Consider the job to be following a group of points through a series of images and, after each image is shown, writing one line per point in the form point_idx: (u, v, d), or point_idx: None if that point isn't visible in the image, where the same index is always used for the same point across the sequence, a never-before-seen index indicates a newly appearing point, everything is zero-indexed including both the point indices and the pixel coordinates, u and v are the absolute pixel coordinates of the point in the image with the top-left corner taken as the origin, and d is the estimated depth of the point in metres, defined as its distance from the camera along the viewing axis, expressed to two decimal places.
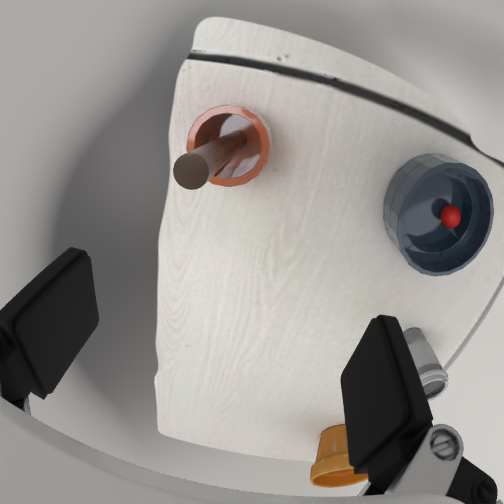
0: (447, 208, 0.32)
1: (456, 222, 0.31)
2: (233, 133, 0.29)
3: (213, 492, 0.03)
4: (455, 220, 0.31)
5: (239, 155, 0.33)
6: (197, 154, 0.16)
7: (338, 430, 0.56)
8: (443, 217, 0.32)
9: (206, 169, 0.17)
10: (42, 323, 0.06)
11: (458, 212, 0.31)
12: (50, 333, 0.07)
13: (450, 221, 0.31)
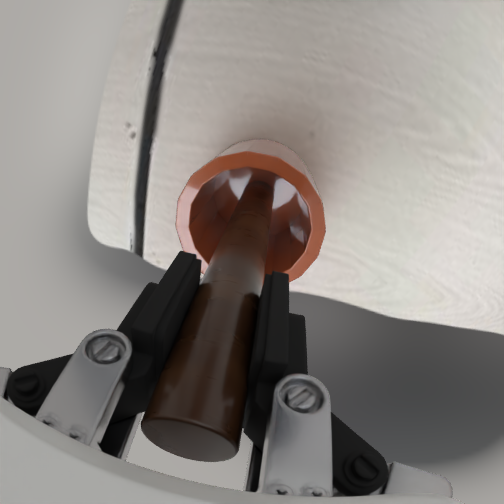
0: None
1: None
2: None
3: (213, 492, 0.03)
4: None
5: (284, 192, 0.21)
6: (142, 419, 0.05)
7: None
8: None
9: (172, 421, 0.05)
10: (174, 329, 0.07)
11: None
12: None
13: None
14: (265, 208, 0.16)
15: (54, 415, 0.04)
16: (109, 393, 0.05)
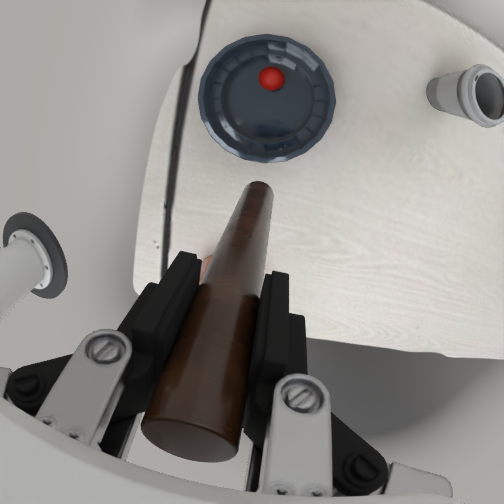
0: (262, 86, 0.30)
1: (273, 75, 0.28)
2: None
3: (213, 492, 0.03)
4: (270, 77, 0.29)
5: None
6: (142, 420, 0.05)
7: None
8: (272, 89, 0.30)
9: (172, 422, 0.05)
10: (174, 329, 0.07)
11: (262, 73, 0.29)
12: (175, 338, 0.08)
13: (273, 82, 0.29)
14: (265, 209, 0.16)
15: (54, 415, 0.04)
16: (109, 393, 0.05)
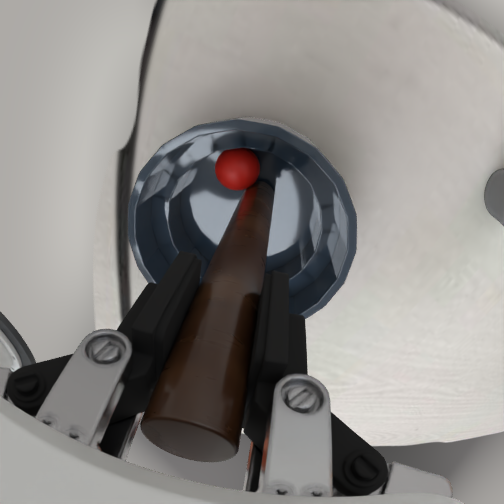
0: None
1: (228, 152, 0.18)
2: None
3: (213, 492, 0.03)
4: (223, 156, 0.18)
5: None
6: (142, 419, 0.05)
7: None
8: (227, 182, 0.19)
9: (172, 421, 0.05)
10: (174, 329, 0.07)
11: None
12: None
13: (226, 165, 0.18)
14: (265, 208, 0.16)
15: (54, 415, 0.04)
16: (109, 393, 0.05)
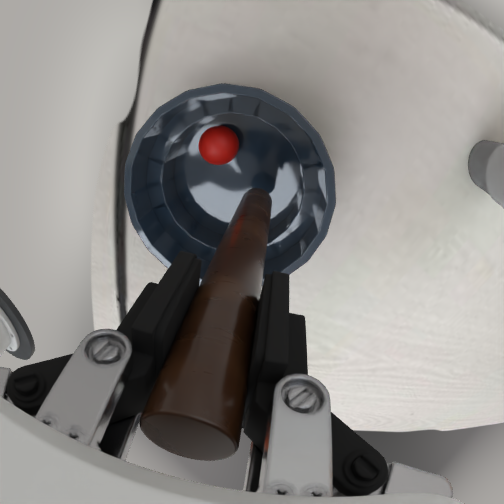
0: (199, 147, 0.21)
1: (222, 136, 0.20)
2: None
3: (213, 492, 0.03)
4: (217, 138, 0.20)
5: None
6: (141, 417, 0.05)
7: None
8: (208, 158, 0.21)
9: (169, 415, 0.05)
10: (174, 329, 0.07)
11: (210, 128, 0.20)
12: None
13: (216, 147, 0.20)
14: (263, 213, 0.17)
15: (54, 415, 0.04)
16: (109, 393, 0.05)
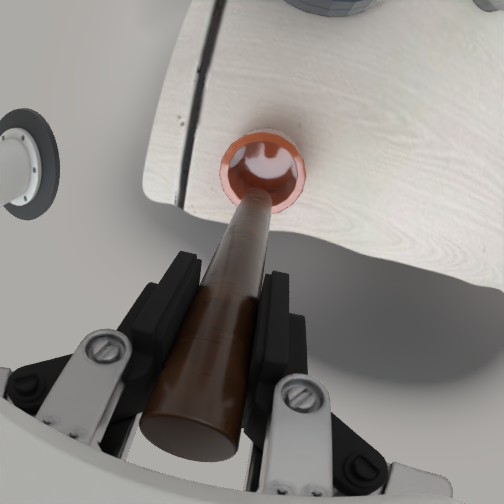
0: None
1: None
2: None
3: (213, 492, 0.03)
4: None
5: (282, 161, 0.33)
6: None
7: None
8: None
9: (168, 417, 0.05)
10: (174, 329, 0.07)
11: None
12: None
13: None
14: (263, 213, 0.17)
15: (54, 415, 0.04)
16: (109, 393, 0.05)
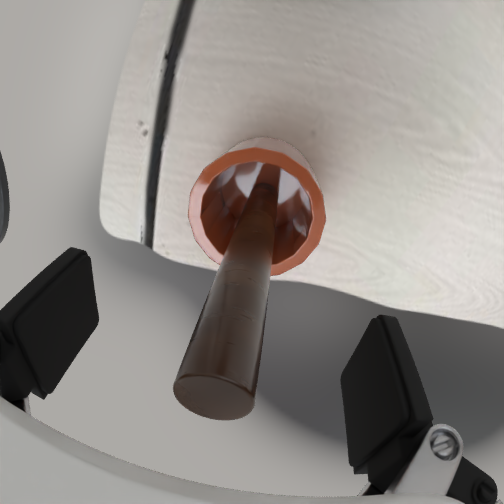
0: None
1: None
2: None
3: (213, 492, 0.03)
4: None
5: (287, 186, 0.22)
6: (174, 382, 0.07)
7: None
8: None
9: (200, 377, 0.07)
10: (42, 323, 0.06)
11: None
12: (51, 333, 0.07)
13: None
14: (270, 208, 0.18)
15: None
16: None
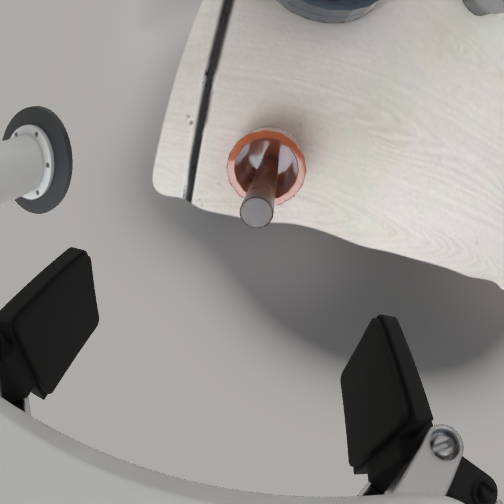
0: None
1: None
2: None
3: (213, 492, 0.03)
4: None
5: (284, 157, 0.35)
6: (241, 206, 0.20)
7: None
8: None
9: (253, 198, 0.19)
10: (42, 323, 0.06)
11: None
12: (50, 333, 0.07)
13: None
14: (274, 165, 0.31)
15: None
16: None
